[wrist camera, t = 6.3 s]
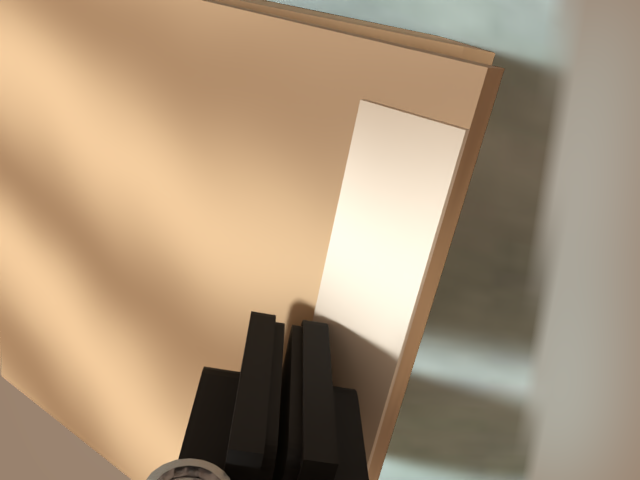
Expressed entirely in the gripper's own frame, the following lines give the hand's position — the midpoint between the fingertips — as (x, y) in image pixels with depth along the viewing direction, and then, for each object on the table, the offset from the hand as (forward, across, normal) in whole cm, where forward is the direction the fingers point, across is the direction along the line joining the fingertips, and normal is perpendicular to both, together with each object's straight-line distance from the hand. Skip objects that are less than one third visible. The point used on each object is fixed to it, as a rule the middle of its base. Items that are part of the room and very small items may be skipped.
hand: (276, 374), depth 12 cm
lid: (+4, +3, 0) cm, 5 cm away
